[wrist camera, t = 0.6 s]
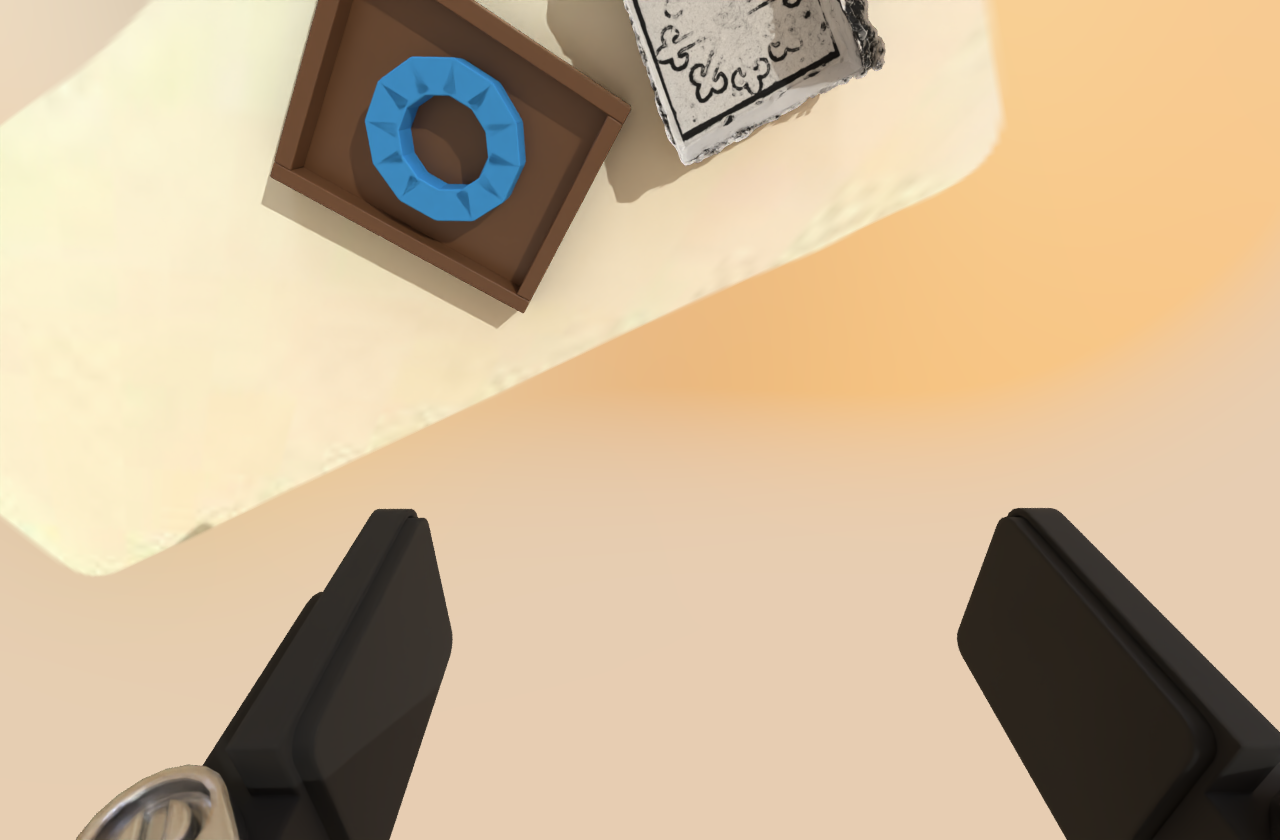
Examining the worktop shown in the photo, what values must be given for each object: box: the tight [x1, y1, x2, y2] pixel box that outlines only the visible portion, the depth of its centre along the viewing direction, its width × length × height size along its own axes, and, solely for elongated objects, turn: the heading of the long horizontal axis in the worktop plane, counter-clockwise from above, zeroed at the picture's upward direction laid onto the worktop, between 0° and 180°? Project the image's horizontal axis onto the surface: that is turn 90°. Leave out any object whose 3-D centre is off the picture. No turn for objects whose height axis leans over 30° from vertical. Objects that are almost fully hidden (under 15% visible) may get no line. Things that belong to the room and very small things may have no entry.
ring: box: [365, 57, 526, 221], centre depth 29 cm, size 7×7×2 cm
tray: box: [270, 0, 631, 313], centre depth 29 cm, size 12×14×2 cm
